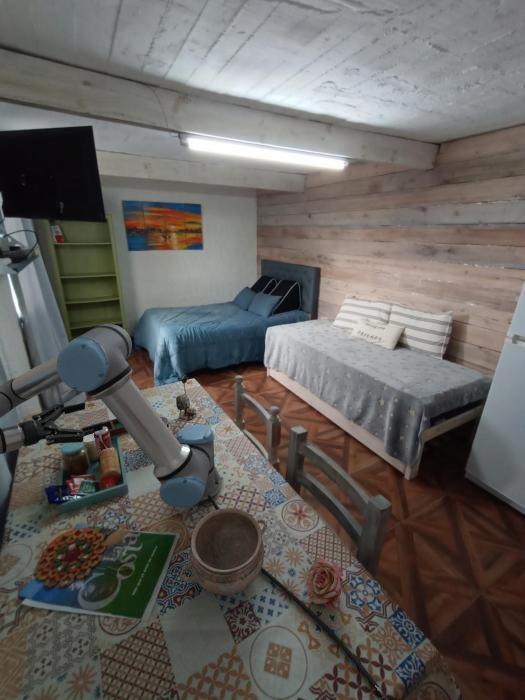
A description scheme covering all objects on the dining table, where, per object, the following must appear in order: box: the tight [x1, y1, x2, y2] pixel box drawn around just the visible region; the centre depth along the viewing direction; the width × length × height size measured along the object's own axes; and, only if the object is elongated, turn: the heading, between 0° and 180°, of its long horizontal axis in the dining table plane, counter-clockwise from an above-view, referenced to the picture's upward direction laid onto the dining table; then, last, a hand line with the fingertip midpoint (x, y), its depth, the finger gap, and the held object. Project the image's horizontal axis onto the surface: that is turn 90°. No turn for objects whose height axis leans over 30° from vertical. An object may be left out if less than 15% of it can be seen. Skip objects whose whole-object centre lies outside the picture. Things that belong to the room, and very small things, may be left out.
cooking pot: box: [179, 507, 268, 596], centre depth 81 cm, size 25×19×12 cm
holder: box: [94, 417, 128, 438], centre depth 138 cm, size 8×16×3 cm, turn 124°
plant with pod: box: [175, 374, 198, 421], centre depth 147 cm, size 8×11×20 cm
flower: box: [306, 557, 344, 609], centre depth 77 cm, size 10×9×8 cm
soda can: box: [93, 427, 113, 455], centre depth 121 cm, size 5×5×12 cm
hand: (93, 415), depth 112 cm, fingers open, 13 cm apart
